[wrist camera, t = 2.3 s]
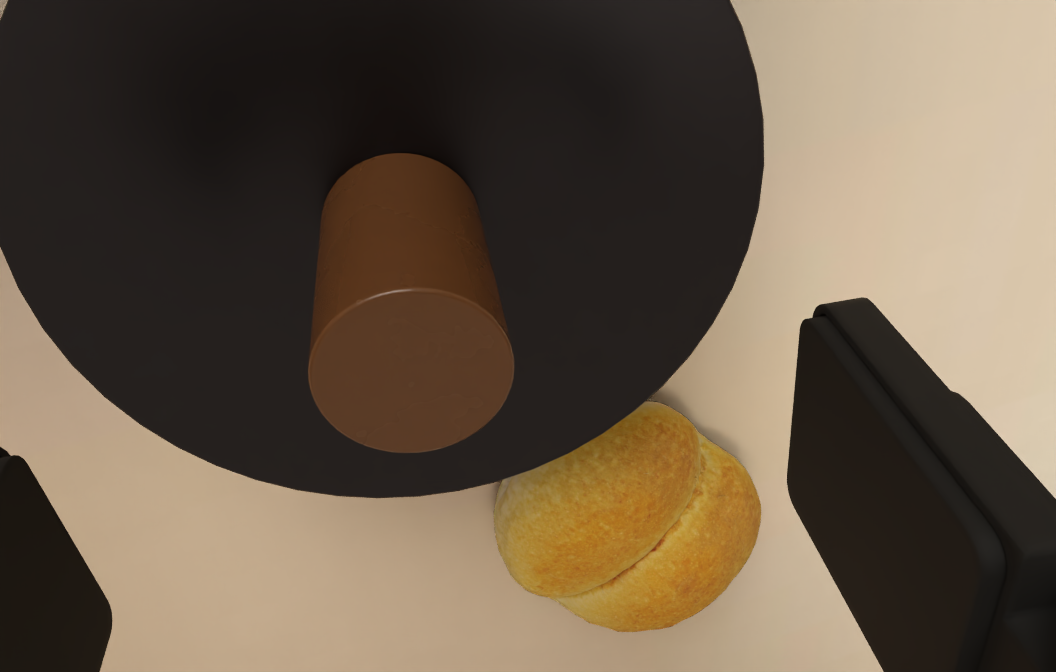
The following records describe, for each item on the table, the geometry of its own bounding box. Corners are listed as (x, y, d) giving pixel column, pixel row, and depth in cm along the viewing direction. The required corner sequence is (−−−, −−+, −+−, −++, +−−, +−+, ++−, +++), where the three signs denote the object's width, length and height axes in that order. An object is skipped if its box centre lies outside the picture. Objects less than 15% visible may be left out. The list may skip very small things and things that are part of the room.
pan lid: (-170, -158, 12) (-488, -91, 8) (761, -279, 13) (973, -284, 9) (162, 512, 20) (103, 743, 15) (733, 407, 21) (836, 596, 16)
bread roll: (613, 348, 27) (648, 434, 23) (777, 479, 31) (825, 567, 28) (432, 506, 29) (441, 603, 26) (607, 606, 34) (633, 700, 30)
